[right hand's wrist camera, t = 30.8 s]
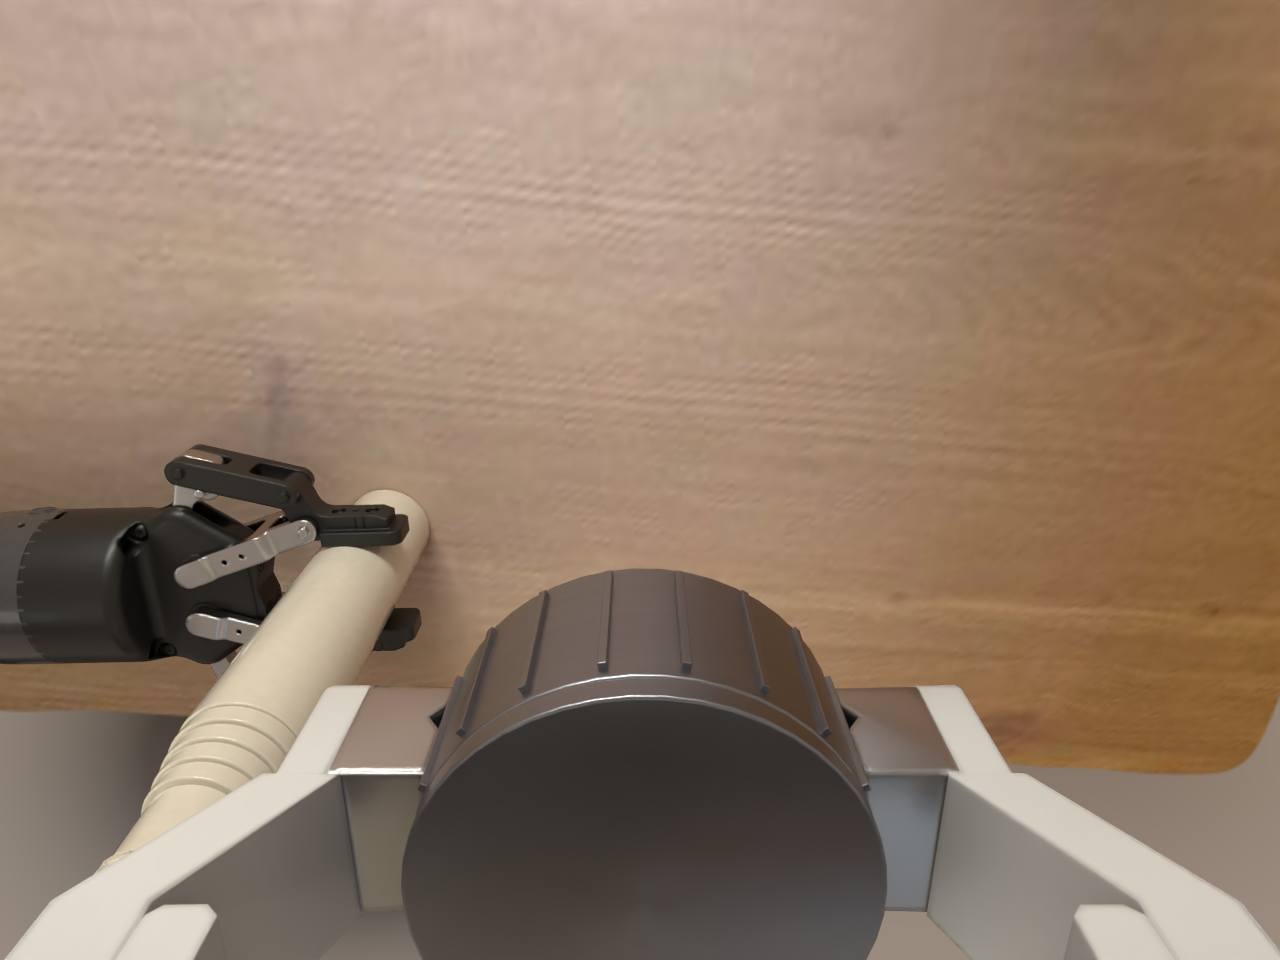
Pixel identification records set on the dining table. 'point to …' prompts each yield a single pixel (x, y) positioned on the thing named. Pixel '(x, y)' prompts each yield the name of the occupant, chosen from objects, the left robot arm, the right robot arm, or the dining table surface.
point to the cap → (644, 788)
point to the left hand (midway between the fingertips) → (409, 577)
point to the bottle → (282, 674)
